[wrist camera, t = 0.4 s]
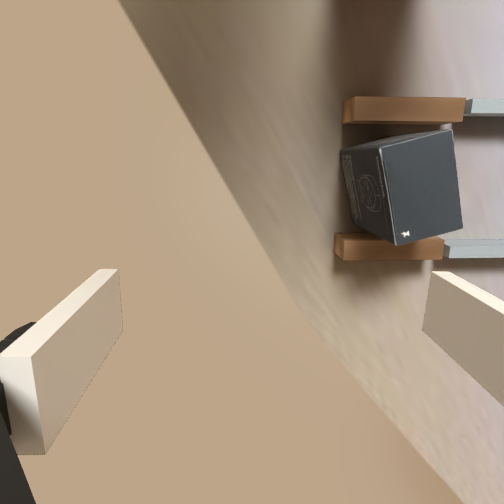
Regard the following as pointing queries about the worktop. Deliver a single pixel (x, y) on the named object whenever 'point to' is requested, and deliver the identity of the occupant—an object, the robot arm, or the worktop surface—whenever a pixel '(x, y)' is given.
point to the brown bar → (395, 113)
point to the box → (404, 186)
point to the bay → (484, 246)
